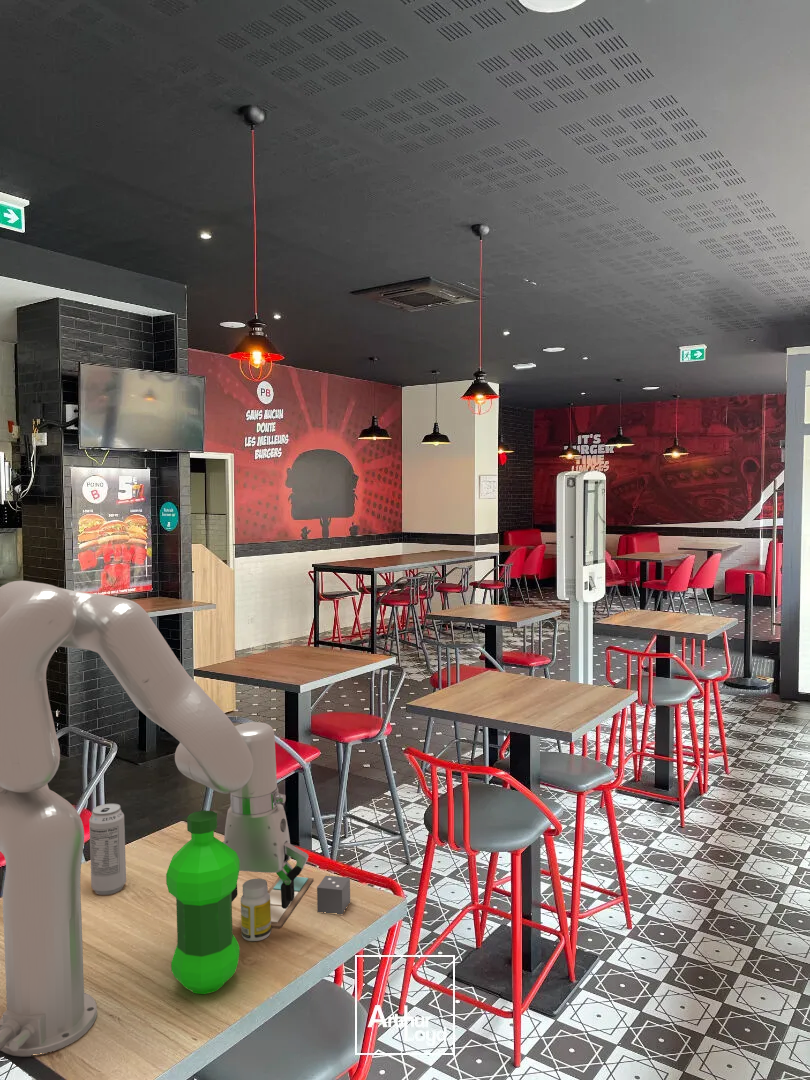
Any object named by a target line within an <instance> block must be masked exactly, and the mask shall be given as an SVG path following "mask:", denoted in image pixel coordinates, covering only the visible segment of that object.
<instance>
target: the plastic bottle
mask: <svg viewBox="0 0 810 1080" xmlns="http://www.w3.org/2000/svg"><path fill="white" fill-rule="evenodd" d="M186 828H187V829H186V830H187V832H189V833H190V834H191V839H190V840H188V841H187V842H186V843H185V844H183V846H182V847H181V848H180V849H179V850H177V852H176V853H174V855H172V858H171V860H170V862H169V865H168V868H167V871H166V873H165V880H166V882H165V883H166V886H167V890H168V893H169V894H171V896H173V897H174V898H175V899H176V900H175V902H176V903H175V905H176V906H175V907H176V934H177V935H176V936H177V944H176V947H175V949H174V953H173V956H172V958H171V963H170V964H171V967H170V968H171V972H172V975H173V976H174V978H175V979H176V980H177V982H179V983H180V984H181V985H182V986H183V987H184V988H185V989H186V990H189V991H190V992H192V993H193V994H200V995H206V994H207V995H208V994H212V993H214V992H217V991H218V990H219V989H220V988H222V987H223V986H224V984H225V983H227V982H228V980H230V979H231V978H233V976H234V975H235V973H236V971H237V968H238V964H239V958H240V945H239V942H238V941H237V938H236V937H235V935H234V934H233V902H232V891H233V890H234V889H235V888H236V885H237V886H238V878H239V874H240V871H239V869H240V862H239V858H238V855H237V853H236V852H235V851H234V850H233V849H231V848H230V847H229V846H227V845H226V844H224V843H223V841H221V840H220V839H218V838H217V837H215V834H214V833H215V832H214V831H215V830H217V828H218V813H217V812H216V811H213V810H206V809H205V810H204V809H203V810H199V811H193V812H192V813H190V814H188V815H187V818H186Z"/></svg>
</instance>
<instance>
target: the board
mask: <svg viewBox="0 0 810 1080" xmlns="http://www.w3.org/2000/svg"><path fill="white" fill-rule="evenodd" d="M277 877H278V878H277V879H275V881H274V882H273V883H272V885H271V886H270V888H269V889H268V893H269V895H270V909H271V929H272V928H273V929H282V927H283V926H284V925H285V923H286V922H287V920H288V918H289V916H290V915H291V914H292V913H293V911H294V910H295V908H296V907H297V905H298V904H299V902H300V901H301V900H302V898H303V897H304V895H305V893H306V892H307V891H308V890H309V887H311V885H312V883H313V882H314V880H315V879H314V877H306V876H304V877H303V876H297V877H296V878H295V879H294V899H293V901H291V902H290V904H289V905H288V907H287V908H286V909H283V908H282V903H281V885H282V883H283V881H282V880H281V878H280V877H279V876H277Z"/></svg>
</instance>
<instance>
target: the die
mask: <svg viewBox="0 0 810 1080" xmlns="http://www.w3.org/2000/svg"><path fill="white" fill-rule="evenodd" d="M316 896H317V897H316V902H317V905H316V907H317V910H316V911H317V913H318V912H323V913H322V914H325V913H324V912H326V913H337V914H343V912H344V910H345V909H346V907H347V906H348V904H349V903H350V904H351V877H345V876H344V877H343V876H333V875H325V876H324V877H323V879H321V881H320V883H319V884H318V886H317V887H316ZM350 904H349V905H350ZM348 907H349V906H348ZM348 907H347V908H348ZM346 910H347V909H346ZM346 910H345V911H346ZM344 913H345V912H344ZM343 915H344V914H343Z"/></svg>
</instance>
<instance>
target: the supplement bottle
mask: <svg viewBox="0 0 810 1080" xmlns="http://www.w3.org/2000/svg"><path fill="white" fill-rule="evenodd" d="M268 890H269V889H268V882H267V880H266V879H264V878H251V879H248V880H246V881H245V882H243V884H242V895H241V897H240V923H241V924H240V925H241V929H240V930H241V936H242V938H243V939H244V940H245V941H249V942H258V941H264V940H265V939H267V938H268V937H269V936H270V935H271V932H272V927H271V909H270V895H269V893H268Z"/></svg>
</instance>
